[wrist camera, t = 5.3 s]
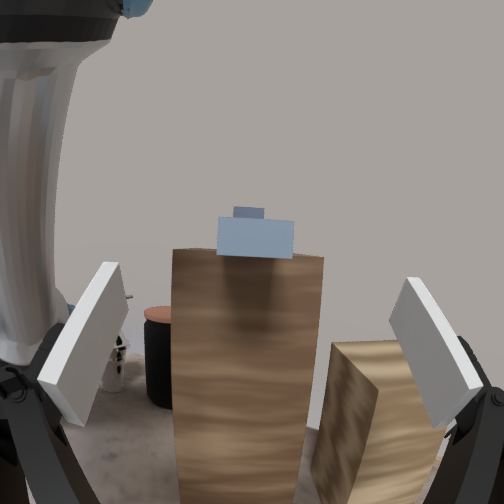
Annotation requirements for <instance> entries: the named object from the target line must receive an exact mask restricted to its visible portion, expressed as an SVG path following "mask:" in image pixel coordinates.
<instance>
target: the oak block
mask: <svg viewBox="0 0 504 504" xmlns="http://www.w3.org/2000/svg"><path fill="white" fill-rule="evenodd" d="M446 429H447V426H444V427H440V428H436V429H433V428H432V425H431V422H430V419H429V416H428V414H427V411H426V408H425V406H424V403H423V400H422V398H421V395H420V393H419V390H418V387H417V385H416V382H415V380H414V377H413V375H412V373H411V370H410V368H409V365H408V363H407V361H406V358H405V356H404V354H403V351H402V349H401V347H400V344H399V342H398V340H383V341H360V342H332V344H331V352H330V360H329V368H328V376H327V382H326V389H325V396H324V403H323V408H322V415H321V420H320V426H319V432H318V437H317V443H316V448H315V453H314V458H313V463H312V468H311V473H312V476H313V479H314V482H315V485H316V488H317V491H318V494H319V497H320V499H321V502H322V504H415V502H416V500H417V498H418V496H419V494H420V492H421V490H422V488H423V485H424V483H425V481H426V479H427V477H428V474H429V472H430V470H431V468H432V465H433V463H434V460H435V458H436V456H437V453H438V450H439V448H440V445H441V442H442V440H443V437H444V434H445V431H446Z"/></svg>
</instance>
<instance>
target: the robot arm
mask: <svg viewBox="0 0 504 504" xmlns="http://www.w3.org/2000/svg"><path fill="white" fill-rule="evenodd" d="M152 2H153V0H0V504H30V503H29V497H28V492H27V486H26V480H27V482H28V485H29V487H30V490H31V492H32V495H33V497H34V499H35V502H36V504H100V502H99V501H98V499H97V497H96V495H95V494H94V492H93V490H92V488H91V486H90V485H89V483H88V481H87V479H86V477H85V475H84V473H83V471H82V469H81V467H80V465H79V463H78V461H77V459H76V457H75V455H74V453H73V451H72V448H71V446H70V444H69V442H68V439H67V437H66V435H65V432H64V430H63V427H62V425H61V424H60V419H61V416H62V415H63V417H64V418H65V419H66V421H67V422H68V423H72V424H75V425H79V426H83V427H85V426H86V423H87V420H88V417H89V414H90V411H91V408H92V405H93V402H94V399H95V396H96V393H97V390H98V387H99V385H100V382H101V379H102V376H103V373H104V371H105V368H106V365H107V363H108V360H109V357H110V355H111V352H112V350H113V347H114V344H115V342H116V339H117V337H118V334H119V332H120V329H121V327H122V325H123V322H124V320H125V317H126V315H127V313H128V305H127V300H126V296H125V291H124V287H123V282H122V277H121V271H120V266H119V263H115V262H103V264H102V265H101V267H100V268H99V270H98V271H97V273H96V274H95V276H94V278H93V279H92V281H91V282H90V284H89V286H88V287H87V289H86V291H85V292H84V294H83V295H82V297H81V299H80V300H79V302H78V304H77V305H76V307H75V306H74V305H69V304H68V303H66V301H65V299H64V297H63V295H62V294H61V293H60V291H59V290H58V289H57V288H55V276H54V221H55V220H54V219H55V200H56V188H57V177H58V168H59V160H60V152H61V145H62V138H63V132H64V127H65V121H66V116H67V111H68V106H69V101H70V96H71V92H72V88H73V84H74V80H75V76H76V72H77V68H78V66H79V64H80V63H81V62H82V61H83V60H84V59H85V58H87V57H88V56H90V55H91V54H93V53H94V52H96V51H97V50H99V49H100V48H102V47H104V46H105V45H107V44H108V43H109V42H110V40H111V38H112V34H113V31H114V29H115V26H116V24H117V21H118V18H119V17H120V16H124V17H126V18H127V19H129V18H132V17H139V16H142V15H144V14H145V13H146V12H147V10H148V9H149V7H150V5H151V4H152ZM389 322H390V324H391V326H392V329H393V331H394V333H395V335H396V337H397V340H398V342H399V344H400V347H401V349H402V351H403V354H404V356H405V358H406V361H407V363H408V365H409V368H410V370H411V373H412V375H413V377H414V380H415V382H416V385H417V387H418V390H419V393H420V395H421V398H422V400H423V403H424V406H425V408H426V411H427V414H428V416H429V419H430V422H431V425H432V428H433V429H436V428H440V427H444V426H447V425H448V424H449V423H450V422H451V421H452V420H453V419H454V418H455V419H456V422H457V424H456V425H455V426H454V427H453V428H452V429H451V430H450V431H448V432H447V434H446V435H445V436H444V438H447V437H448V436H449V435H450V434H451V436H450V438H449V442H448V445H447V448H446V451H445V453H444V456H443V459H442V461H441V464H440V466H439V469H438V471H437V473H436V476H435V478H434V481H433V483H432V485H431V487H430V490H429V492H428V494H427V496H426V498H425V500H424V502H423V504H504V391H503V390H502V389H500V388H498V387H492V386H491V384H490V382H489V380H488V378H487V377H486V375H485V373H484V371H483V369H482V367H481V365H480V364H479V362H478V361H477V358H476V356H475V355H474V354H473V351H472V349H471V348H470V346H469V344H468V343H467V342H466V341H465V340H464V339H463V338H462V337H461V336H456V335H455V333H454V331H453V329H452V328H451V326H450V325H449V323H448V321H447V320H446V318H445V317H444V315H443V313H442V312H441V310H440V309H439V307H438V305H437V304H436V302H435V301H434V299H433V297H432V296H431V294H430V293H429V291H428V290H427V288H426V287H425V285H424V284H423V282H422V281H421V279H420V278H415V277H407V278H406V280H405V282H404V285H403V287H402V290H401V293H400V295H399V298H398V300H397V302H396V305H395V307H394V309H393V312H392V314H391V316H390V319H389ZM25 477H26V480H25Z"/></svg>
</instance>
